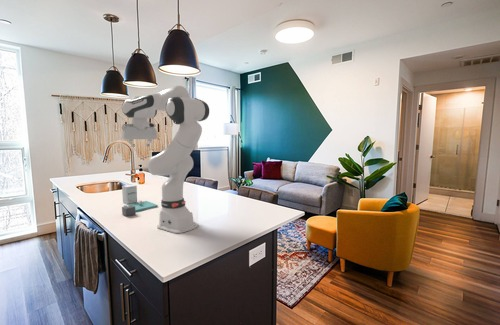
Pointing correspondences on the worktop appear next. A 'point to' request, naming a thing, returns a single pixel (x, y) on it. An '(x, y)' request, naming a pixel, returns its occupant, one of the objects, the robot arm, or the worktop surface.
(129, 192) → the supplement box
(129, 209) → the knob
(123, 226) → the worktop surface
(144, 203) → the board
